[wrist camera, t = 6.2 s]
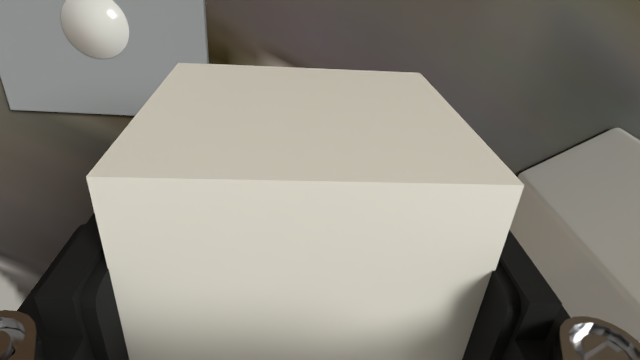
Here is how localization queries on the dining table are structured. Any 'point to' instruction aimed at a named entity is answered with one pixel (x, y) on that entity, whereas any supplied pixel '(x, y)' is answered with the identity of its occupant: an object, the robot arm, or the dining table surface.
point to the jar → (587, 227)
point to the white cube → (299, 217)
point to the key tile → (95, 51)
